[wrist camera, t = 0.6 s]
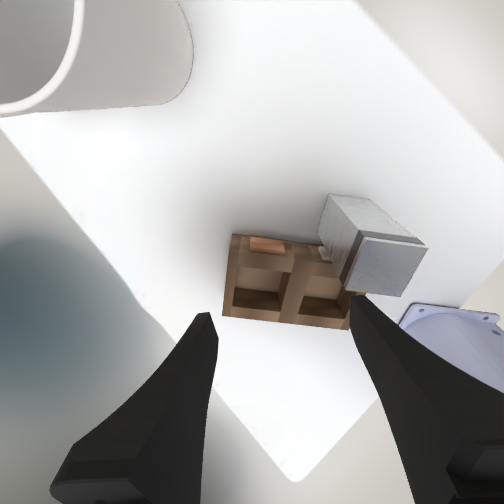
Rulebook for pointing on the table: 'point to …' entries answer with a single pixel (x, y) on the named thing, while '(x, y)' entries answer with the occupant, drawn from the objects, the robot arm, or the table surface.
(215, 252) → the table surface
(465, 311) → the robot arm
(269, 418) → the table surface
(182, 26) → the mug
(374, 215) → the plug
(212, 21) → the table surface
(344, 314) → the port block
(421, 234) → the table surface
